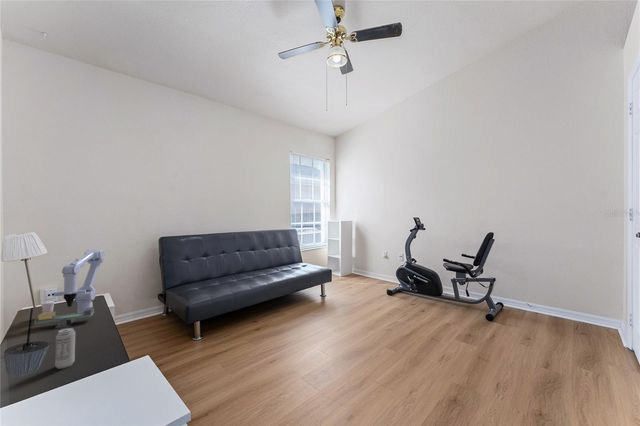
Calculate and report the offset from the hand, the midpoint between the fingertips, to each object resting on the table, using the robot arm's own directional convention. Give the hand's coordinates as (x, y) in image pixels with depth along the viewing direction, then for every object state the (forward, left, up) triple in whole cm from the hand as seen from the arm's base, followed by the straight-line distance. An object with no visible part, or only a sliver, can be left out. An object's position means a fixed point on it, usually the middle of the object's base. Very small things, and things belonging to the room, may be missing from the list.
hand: (69, 306), depth 166 cm
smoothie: (-20, -16, -10) cm, 28 cm away
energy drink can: (+67, +16, -10) cm, 70 cm away
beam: (+3, -1, -6) cm, 7 cm away
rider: (+3, -9, -5) cm, 11 cm away
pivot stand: (+3, -1, -10) cm, 10 cm away
